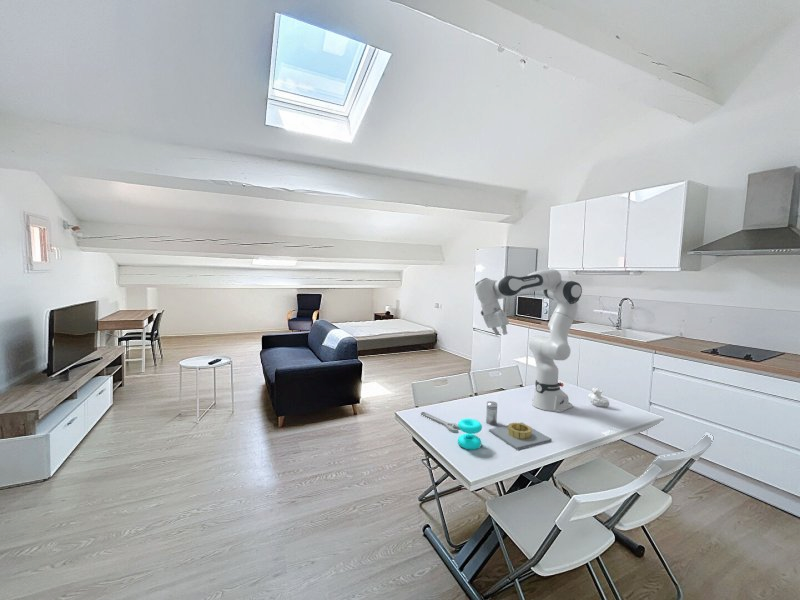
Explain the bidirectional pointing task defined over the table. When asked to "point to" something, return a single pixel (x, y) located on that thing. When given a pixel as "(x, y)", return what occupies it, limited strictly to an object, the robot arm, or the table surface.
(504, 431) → the plate
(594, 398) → the duck figurine
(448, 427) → the adjustable wrench
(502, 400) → the table surface
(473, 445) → the donuts
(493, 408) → the cylinder
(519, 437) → the brass ring
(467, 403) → the table surface
